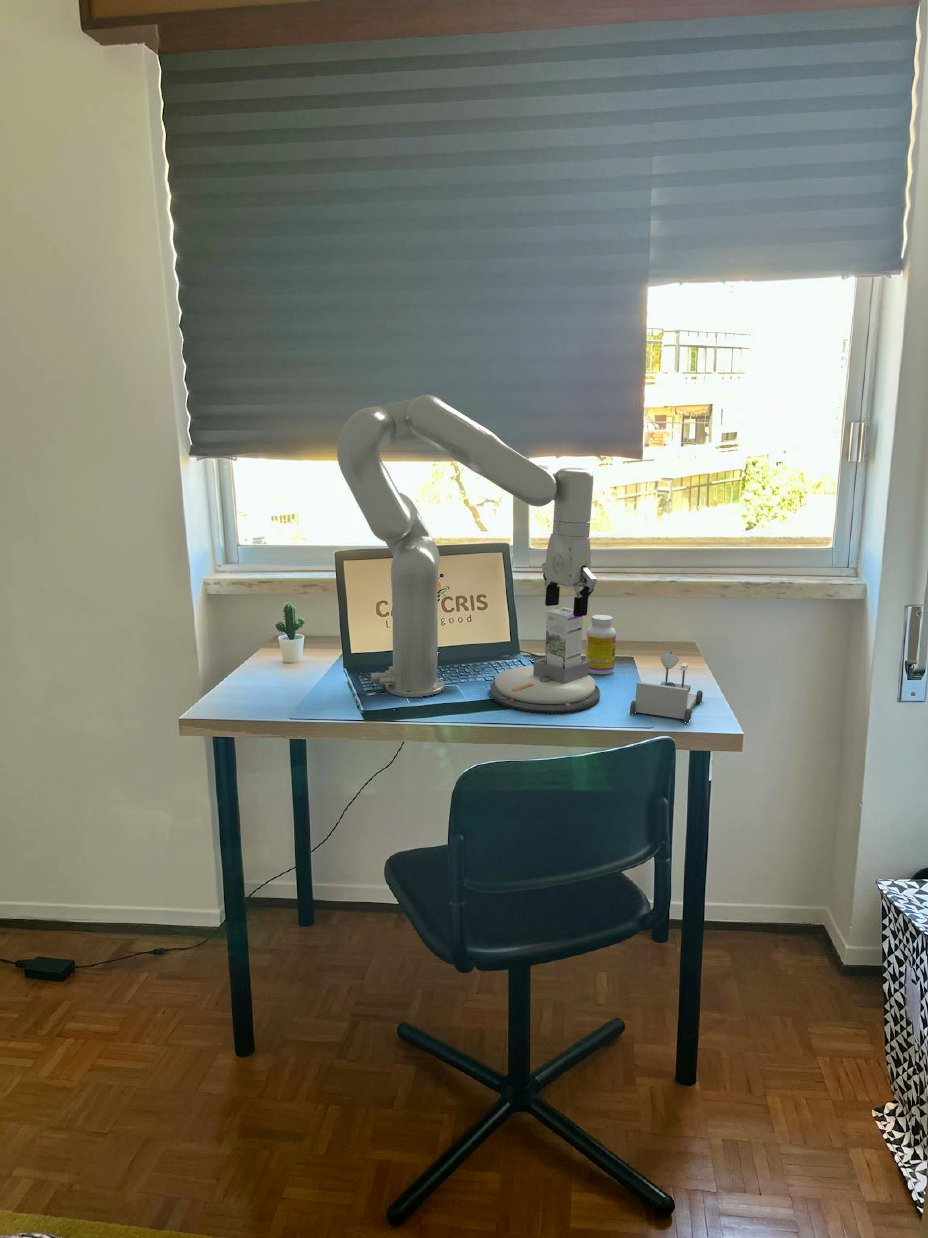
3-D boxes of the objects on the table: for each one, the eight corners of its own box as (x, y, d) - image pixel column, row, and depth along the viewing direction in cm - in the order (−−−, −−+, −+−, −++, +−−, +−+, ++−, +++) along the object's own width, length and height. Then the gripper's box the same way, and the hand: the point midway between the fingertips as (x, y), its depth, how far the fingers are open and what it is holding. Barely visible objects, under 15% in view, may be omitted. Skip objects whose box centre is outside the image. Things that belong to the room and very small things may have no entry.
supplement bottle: (615, 676, 205) (619, 621, 202) (586, 675, 205) (589, 620, 202) (611, 667, 212) (614, 613, 208) (583, 666, 212) (585, 613, 208)
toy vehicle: (652, 647, 194) (707, 654, 189) (650, 691, 196) (704, 698, 192) (632, 670, 178) (691, 678, 174) (629, 717, 181) (687, 726, 176)
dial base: (514, 719, 177) (514, 710, 177) (475, 683, 198) (475, 675, 198) (619, 707, 184) (619, 699, 184) (570, 674, 206) (571, 666, 205)
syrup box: (581, 676, 194) (584, 610, 190) (564, 682, 190) (566, 615, 186) (560, 670, 198) (563, 605, 194) (543, 676, 193) (545, 610, 190)
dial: (552, 711, 177) (553, 689, 175) (474, 686, 191) (474, 666, 190) (615, 687, 191) (616, 667, 190) (538, 666, 205) (539, 647, 204)
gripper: (531, 523, 191) (527, 603, 195) (582, 536, 176) (576, 621, 181) (560, 522, 194) (555, 600, 199) (612, 534, 180) (606, 618, 184)
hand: (565, 610), depth 190 cm, fingers open, 9 cm apart
